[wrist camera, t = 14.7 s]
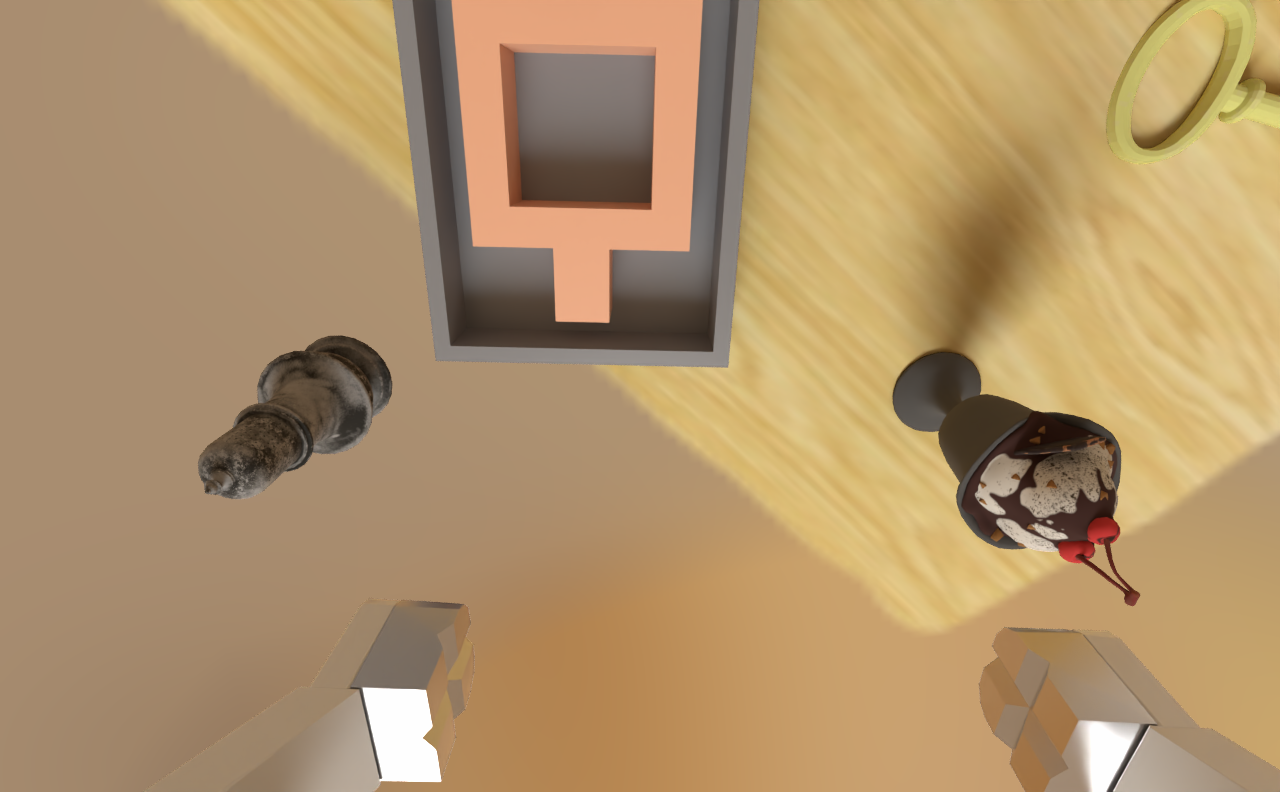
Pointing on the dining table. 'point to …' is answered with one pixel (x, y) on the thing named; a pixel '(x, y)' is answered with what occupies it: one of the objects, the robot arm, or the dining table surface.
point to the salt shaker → (298, 415)
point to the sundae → (1018, 464)
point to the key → (1216, 97)
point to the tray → (580, 197)
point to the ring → (485, 44)
